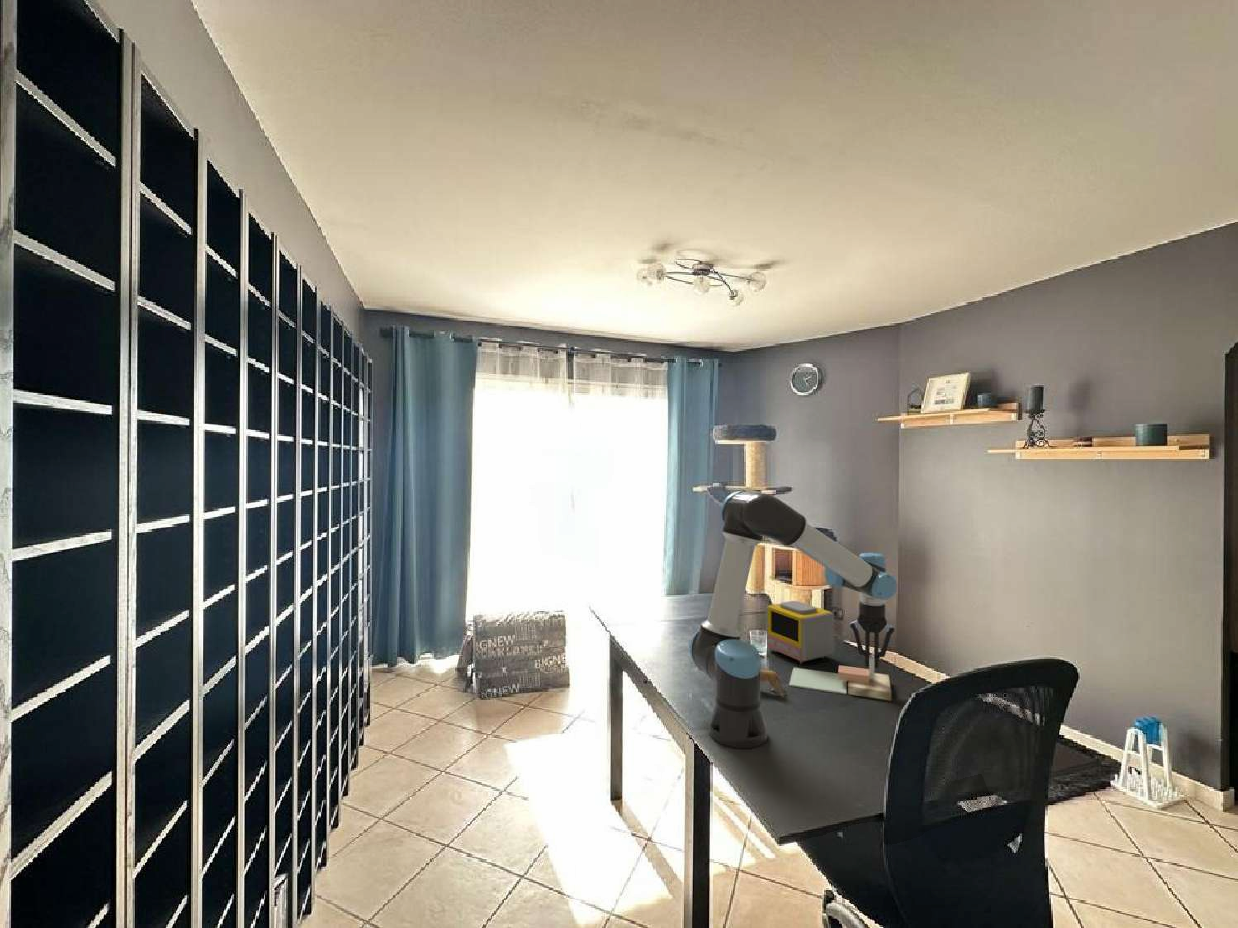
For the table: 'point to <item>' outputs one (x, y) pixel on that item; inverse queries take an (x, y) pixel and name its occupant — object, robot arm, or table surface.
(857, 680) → the block
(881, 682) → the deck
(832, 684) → the mat
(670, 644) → the table surface
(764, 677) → the lion figurine
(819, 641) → the alarm clock
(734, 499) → the robot arm
